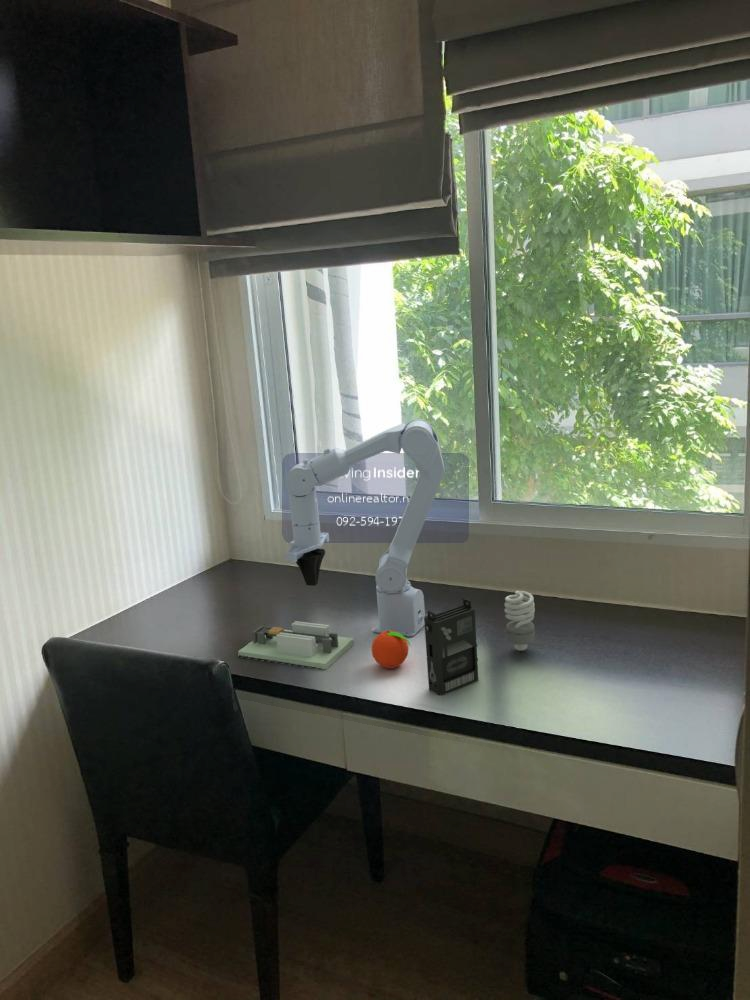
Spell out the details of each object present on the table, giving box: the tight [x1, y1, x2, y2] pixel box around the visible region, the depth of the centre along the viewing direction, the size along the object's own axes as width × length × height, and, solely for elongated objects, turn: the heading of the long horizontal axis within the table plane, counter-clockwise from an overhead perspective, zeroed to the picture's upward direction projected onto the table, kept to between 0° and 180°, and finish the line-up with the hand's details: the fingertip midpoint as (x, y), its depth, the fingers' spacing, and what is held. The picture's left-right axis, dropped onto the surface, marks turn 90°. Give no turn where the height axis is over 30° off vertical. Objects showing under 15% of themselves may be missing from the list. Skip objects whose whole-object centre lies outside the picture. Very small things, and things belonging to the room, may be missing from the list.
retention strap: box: [260, 626, 334, 643], centre depth 161 cm, size 16×2×1 cm, turn 64°
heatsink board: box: [237, 620, 355, 670], centre depth 162 cm, size 20×12×5 cm, turn 64°
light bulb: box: [504, 590, 536, 652], centre depth 153 cm, size 6×6×12 cm
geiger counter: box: [424, 597, 479, 696], centre depth 142 cm, size 10×5×15 cm, turn 123°
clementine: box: [371, 631, 413, 669], centre depth 151 cm, size 8×7×7 cm
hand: (312, 584), depth 169 cm, fingers closed
